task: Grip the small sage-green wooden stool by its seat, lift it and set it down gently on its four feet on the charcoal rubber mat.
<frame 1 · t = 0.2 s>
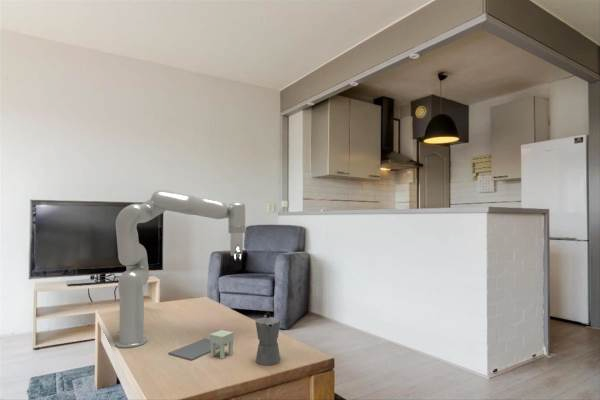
hand: (237, 268, 169), 31 cm above the table, tool pointing down, fingers open, 9 cm apart
coffeepot: (267, 360, 142), on the table
stool: (221, 355, 147), on the table
mat: (198, 349, 153), on the table
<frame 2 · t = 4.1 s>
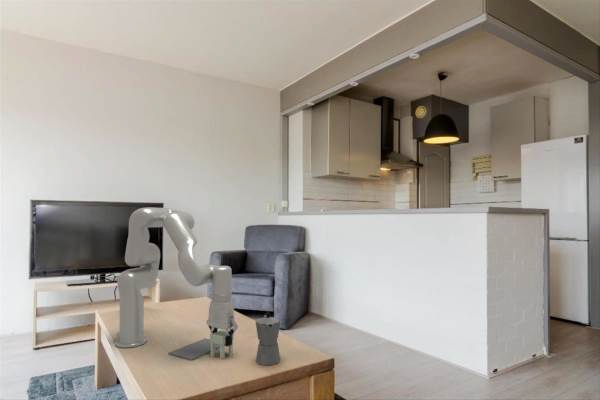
hand: (221, 343, 147), 4 cm above the table, tool pointing down, fingers closed on stool, 6 cm apart
stool: (221, 355, 147), on the table, touching gripper
everything else where it was.
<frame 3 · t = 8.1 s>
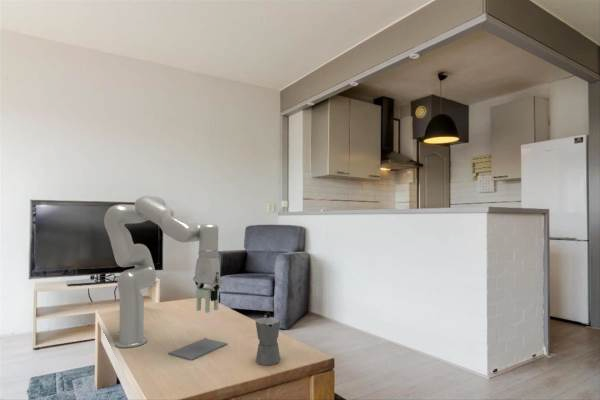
hand: (207, 298, 152), 21 cm above the table, tool pointing down, fingers closed on stool, 6 cm apart
stool: (207, 310, 152), point 17 cm above the table, touching gripper
everything else where it was.
when the fingers open (6 cm above the table, at t = 12.4 s): stool drops 1 cm, resting on mat.
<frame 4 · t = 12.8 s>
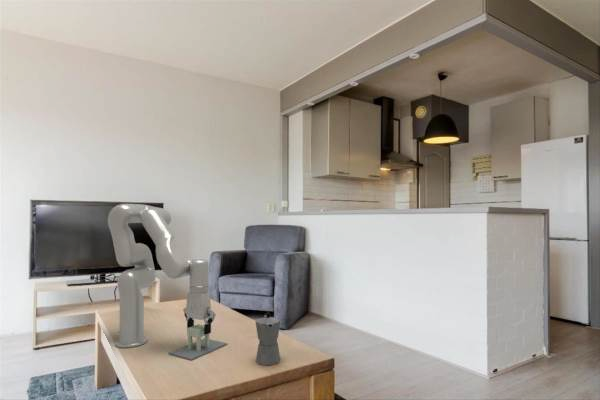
hand: (198, 331, 154), 7 cm above the table, tool pointing down, fingers open, 9 cm apart
stool: (198, 347, 154), point 1 cm above the table, touching mat
everything else where it was.
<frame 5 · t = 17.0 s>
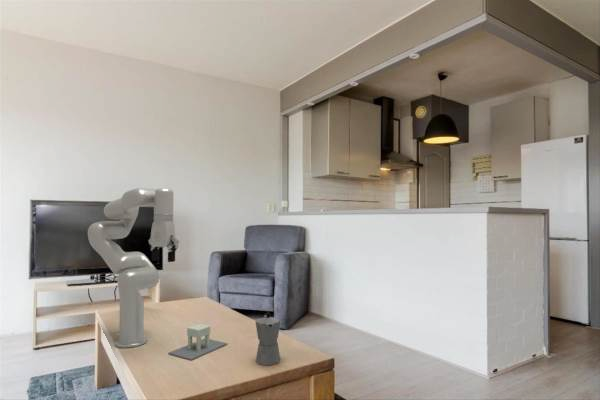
hand: (163, 261, 153), 36 cm above the table, tool pointing down, fingers open, 9 cm apart
nothing on the table moved.
at the end: stool inside the target area on the mat (0.1 cm from its centre), point 0.6 cm above the mat's base; stool tilted 0°; the gripper is holding nothing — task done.
